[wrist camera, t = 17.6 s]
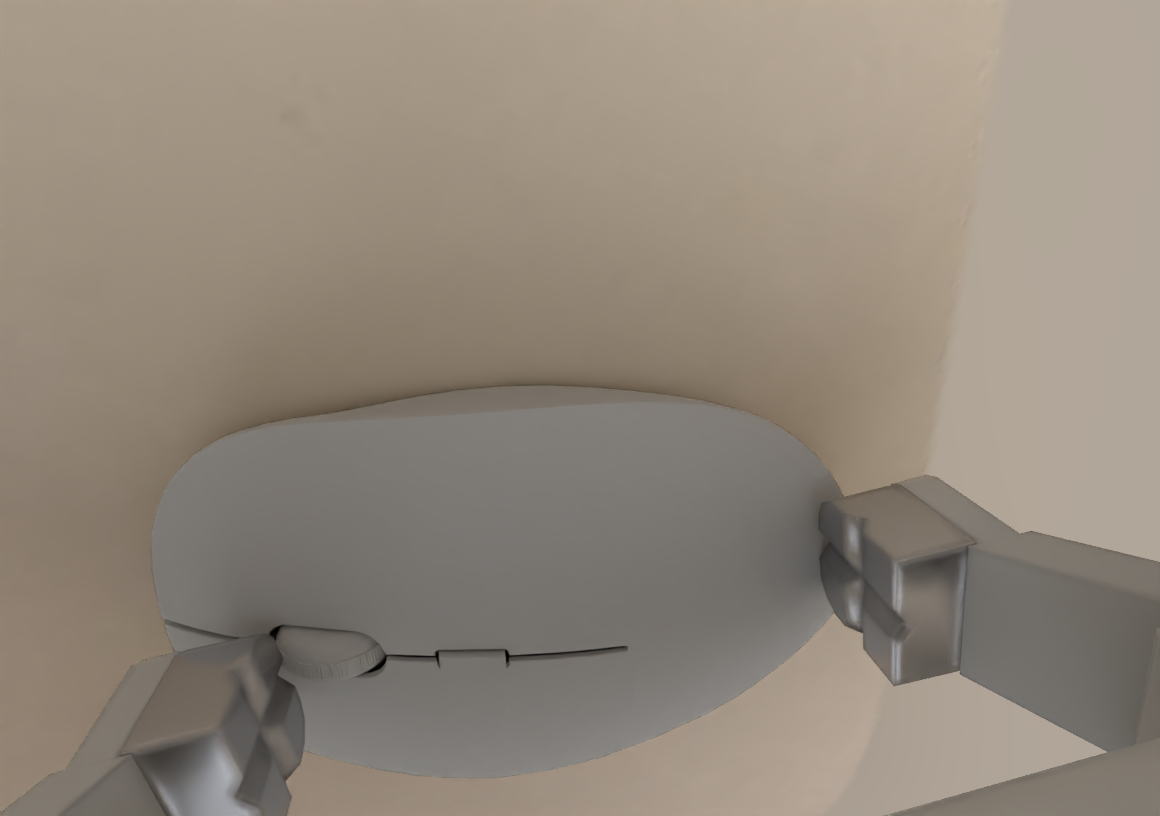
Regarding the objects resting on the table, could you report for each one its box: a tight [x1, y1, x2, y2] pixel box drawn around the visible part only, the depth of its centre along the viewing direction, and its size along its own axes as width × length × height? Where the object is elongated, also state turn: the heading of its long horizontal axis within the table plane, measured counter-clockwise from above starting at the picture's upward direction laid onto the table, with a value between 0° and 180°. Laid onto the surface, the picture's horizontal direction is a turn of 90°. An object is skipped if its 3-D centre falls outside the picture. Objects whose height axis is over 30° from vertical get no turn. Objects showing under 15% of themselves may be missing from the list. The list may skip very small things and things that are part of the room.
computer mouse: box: [151, 385, 843, 778], centre depth 10 cm, size 6×10×3 cm, turn 92°
